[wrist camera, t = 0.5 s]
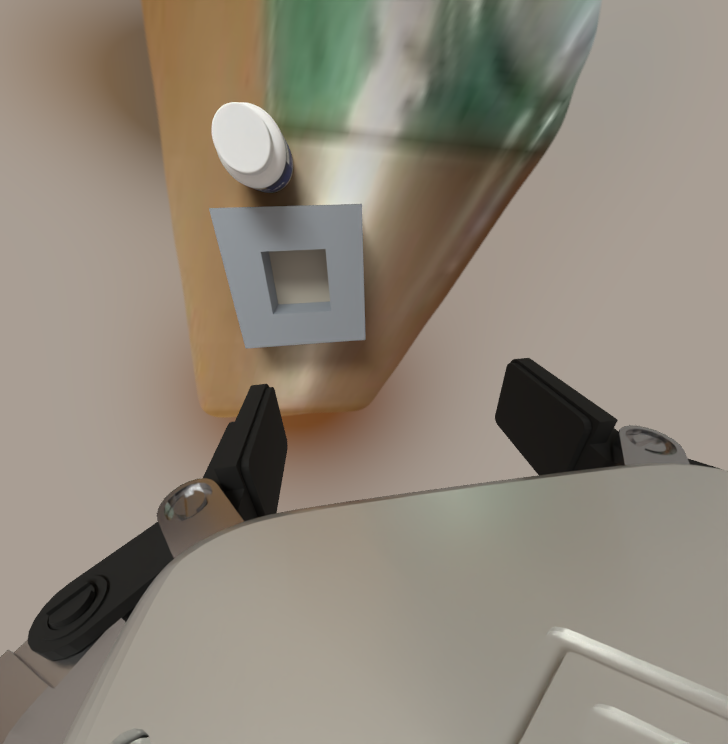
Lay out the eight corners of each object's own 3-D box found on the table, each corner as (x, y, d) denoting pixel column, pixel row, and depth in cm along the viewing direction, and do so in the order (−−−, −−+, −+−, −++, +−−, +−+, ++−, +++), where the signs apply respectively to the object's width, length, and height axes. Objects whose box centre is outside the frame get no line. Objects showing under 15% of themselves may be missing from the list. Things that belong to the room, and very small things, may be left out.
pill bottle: (253, 200, 29) (223, 193, 21) (228, 136, 27) (182, 100, 18) (301, 185, 29) (291, 173, 21) (281, 120, 27) (260, 76, 18)
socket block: (226, 209, 30) (208, 208, 25) (356, 205, 31) (361, 203, 26) (255, 332, 36) (245, 348, 32) (361, 325, 38) (365, 339, 33)
